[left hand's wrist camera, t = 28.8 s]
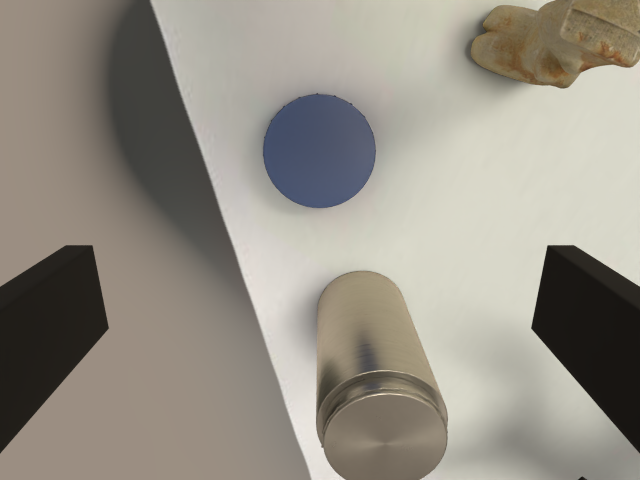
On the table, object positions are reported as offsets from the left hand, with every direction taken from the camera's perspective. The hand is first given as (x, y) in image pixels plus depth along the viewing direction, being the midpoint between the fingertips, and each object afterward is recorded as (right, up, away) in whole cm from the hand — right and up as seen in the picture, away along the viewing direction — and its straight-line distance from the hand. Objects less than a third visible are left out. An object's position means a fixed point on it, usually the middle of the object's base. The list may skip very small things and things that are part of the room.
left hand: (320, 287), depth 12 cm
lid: (0, +9, +25) cm, 27 cm away
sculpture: (+16, +18, +24) cm, 34 cm away
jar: (+4, -6, +33) cm, 33 cm away
